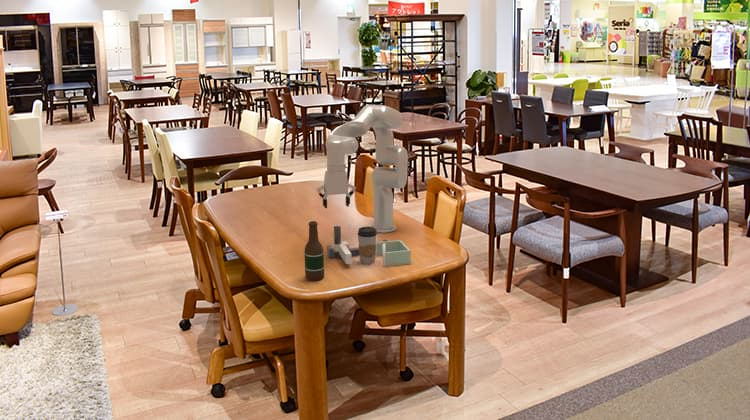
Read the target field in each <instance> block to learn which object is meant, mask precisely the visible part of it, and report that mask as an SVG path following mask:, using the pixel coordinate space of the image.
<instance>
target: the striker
mask: <svg viewBox="0 0 750 420" xmlns="http://www.w3.org/2000/svg"><path fill="white" fill-rule="evenodd" d="M341 229H342V228H341V226H340V225H334V226H333V247H332V248H333V250H335V252H337V251H339V254H340V256H341V257H342V258H341V259H342V260H343V262H344V263H345V264H346V265H349V264H350V265H351V264H353V263H352V262H353V261H352V257H351V253H350V251H349V248H350V247H349V245H350V244H349V243H348V241H346V240H345V241H344V240H343V241H342V231H341Z"/></svg>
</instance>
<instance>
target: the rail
mask: <svg viewBox="0 0 750 420" xmlns="http://www.w3.org/2000/svg"><path fill="white" fill-rule="evenodd" d="M387 241H388V240H387V239H383V241H382V242H387ZM349 251H350V253H351V258H353V257H360V254H359V246H358V247H349ZM326 253H327V254H326V256H327V258H328V259H329V261H330V260H332V261H333V260H334V259H340V258H341V259H342V257H341V256H340V254H339V251H337V252H335V250H334V248H333V247H332V245H331V244H327V245H326Z"/></svg>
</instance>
